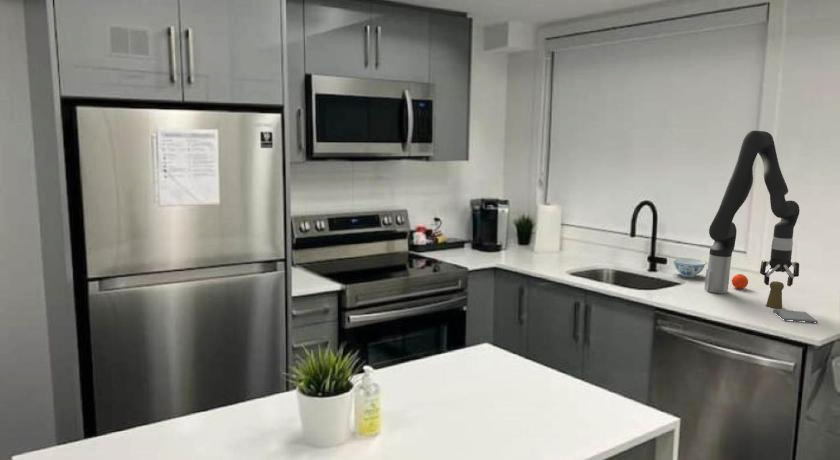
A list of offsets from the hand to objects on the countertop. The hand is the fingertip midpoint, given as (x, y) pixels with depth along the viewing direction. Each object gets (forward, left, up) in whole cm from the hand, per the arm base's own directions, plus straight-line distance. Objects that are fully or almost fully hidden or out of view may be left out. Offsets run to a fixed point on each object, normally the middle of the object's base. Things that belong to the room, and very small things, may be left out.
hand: (777, 285), depth 256 cm
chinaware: (-25, +47, -10) cm, 54 cm away
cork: (0, 0, -10) cm, 10 cm away
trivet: (+3, -14, -10) cm, 17 cm away
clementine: (-6, +28, -10) cm, 30 cm away
